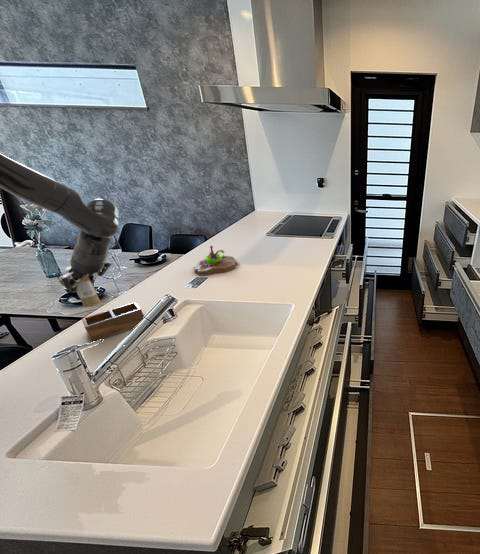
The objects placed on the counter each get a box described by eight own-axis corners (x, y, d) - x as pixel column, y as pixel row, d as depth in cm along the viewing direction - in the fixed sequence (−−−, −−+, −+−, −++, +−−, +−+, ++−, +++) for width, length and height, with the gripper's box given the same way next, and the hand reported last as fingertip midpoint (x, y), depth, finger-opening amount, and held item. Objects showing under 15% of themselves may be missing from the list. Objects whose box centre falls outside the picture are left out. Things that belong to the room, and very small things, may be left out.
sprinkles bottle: (101, 299, 103) (84, 262, 98) (100, 304, 100) (82, 267, 94) (84, 303, 101) (66, 266, 95) (82, 309, 97) (63, 270, 92)
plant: (236, 257, 170) (232, 238, 165) (237, 270, 153) (232, 249, 149) (196, 263, 163) (191, 243, 158) (193, 277, 146) (186, 255, 142)
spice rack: (88, 333, 105) (81, 318, 103) (141, 315, 115) (135, 301, 113) (92, 342, 100) (84, 327, 98) (146, 323, 110) (141, 308, 108)
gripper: (105, 238, 96) (94, 270, 104) (51, 254, 83) (43, 288, 92) (124, 256, 96) (111, 285, 105) (72, 273, 84) (63, 306, 93)
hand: (80, 287), depth 98 cm, fingers closed on sprinkles bottle, 4 cm apart
